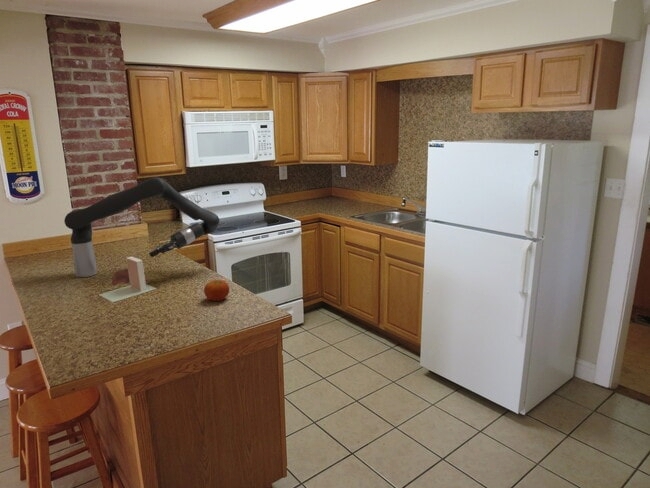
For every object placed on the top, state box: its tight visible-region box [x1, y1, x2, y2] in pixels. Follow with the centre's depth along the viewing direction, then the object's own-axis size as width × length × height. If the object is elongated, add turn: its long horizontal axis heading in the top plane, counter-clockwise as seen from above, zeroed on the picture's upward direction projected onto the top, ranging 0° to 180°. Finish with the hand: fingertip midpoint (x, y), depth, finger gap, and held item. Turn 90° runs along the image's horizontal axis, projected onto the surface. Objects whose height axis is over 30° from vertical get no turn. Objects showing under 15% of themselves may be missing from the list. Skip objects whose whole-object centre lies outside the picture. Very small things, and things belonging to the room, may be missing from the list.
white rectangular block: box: [126, 256, 146, 292], centre depth 209 cm, size 3×10×14 cm, turn 48°
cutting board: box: [98, 284, 157, 303], centre depth 207 cm, size 20×14×1 cm
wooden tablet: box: [111, 268, 130, 286], centre depth 229 cm, size 27×10×2 cm, turn 21°
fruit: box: [203, 279, 230, 302], centre depth 196 cm, size 11×10×8 cm
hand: (150, 255), depth 212 cm, fingers closed
